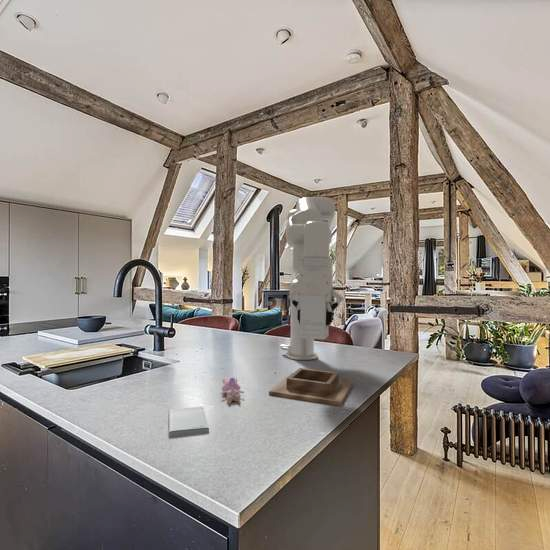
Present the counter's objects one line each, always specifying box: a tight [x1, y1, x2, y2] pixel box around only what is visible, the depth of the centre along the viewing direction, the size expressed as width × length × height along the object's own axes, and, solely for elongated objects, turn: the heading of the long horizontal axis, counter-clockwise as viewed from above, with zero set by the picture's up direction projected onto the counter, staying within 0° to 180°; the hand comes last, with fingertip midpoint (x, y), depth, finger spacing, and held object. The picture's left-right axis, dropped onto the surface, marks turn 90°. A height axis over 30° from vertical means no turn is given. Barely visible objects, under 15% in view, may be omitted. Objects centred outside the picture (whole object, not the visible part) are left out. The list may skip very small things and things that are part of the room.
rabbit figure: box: [220, 375, 245, 406], centre depth 98 cm, size 6×6×15 cm
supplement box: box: [300, 295, 330, 341], centre depth 105 cm, size 7×7×13 cm
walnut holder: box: [268, 367, 354, 407], centre depth 105 cm, size 20×20×4 cm
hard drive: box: [168, 406, 210, 437], centre depth 80 cm, size 2×8×12 cm
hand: (314, 323), depth 105 cm, fingers closed on supplement box, 7 cm apart
